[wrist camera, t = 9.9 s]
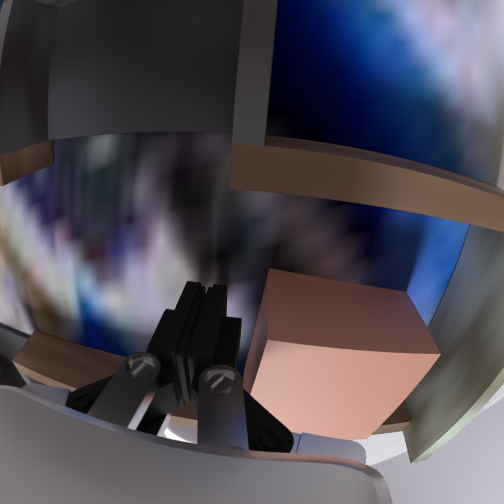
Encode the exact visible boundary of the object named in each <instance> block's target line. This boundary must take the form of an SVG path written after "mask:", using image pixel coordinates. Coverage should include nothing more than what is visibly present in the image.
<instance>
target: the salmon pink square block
mask: <svg viewBox="0 0 504 504" xmlns="http://www.w3.org/2000/svg"><path fill="white" fill-rule="evenodd" d="M440 355H441V353H440V351H439V349H438V347H437V345H436V343H435V342H434V340H433V338H432V336H431V334H430V332H429V330H428V329H427V327H426V325H425V323H424V321H423V320H422V318H421V316H420V314H419V313H418V311H417V309H416V307H415V306H414V304H413V302H412V301H411V299H410V297H409V296H408V294H407V292H405V291H399V290H392V289H386V288H380V287H374V286H368V285H363V284H357V283H351V282H345V281H339V280H333V279H328V278H322V277H316V276H310V275H305V274H299V273H293V272H288V271H282V270H277V269H271V268H269V272H268V276H267V280H266V284H265V288H264V292H263V296H262V300H261V305H260V309H259V313H258V317H257V321H256V325H255V329H254V333H253V337H252V341H251V344H250V348H249V352H248V356H247V360H246V364H245V368H244V375H243V388H244V389H245V390H246V391H247V392H248V393H249V394H250V395H251V396H252V397H253V398H254V399H255V400H257V401H258V402H259V403H260V404H261V405H262V406H263V407H264V408H265V409H267V410H268V411H269V412H270V413H271V414H272V415H273V416H274V417H276V418H277V419H278V420H279V421H280V422H281V423H283V424H284V425H285V426H286V427H287V428H288V429H289V430H290V431H291V432H294V433H299V434H301V433H302V432H305V433H310V434H315V435H320V436H326V437H332V438H338V439H345V440H354V439H367V438H368V437H369V436H370V435H371V434H372V433H373V432H374V431H375V430H376V429H377V428H378V427H379V426H380V425H381V424H382V423H383V422H384V421H385V420H386V419H387V418H388V417H389V416H390V415H391V414H392V413H393V412H394V411H395V410H396V409H397V408H398V406H399V405H400V404H401V403H402V402H403V401H404V400H405V399H406V397H407V396H408V395H409V394H410V393H411V392H412V391H413V389H414V388H415V387H416V386H417V385H418V383H419V382H420V381H421V380H422V378H423V377H424V376H425V375H426V373H427V372H428V371H429V370H430V368H431V367H432V366H433V364H434V363H435V362H436V360H437V359H438V358H439V356H440Z"/></svg>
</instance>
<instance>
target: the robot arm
mask: <svg viewBox="0 0 504 504" xmlns="http://www.w3.org/2000/svg"><path fill="white" fill-rule="evenodd" d="M226 316H227V285H219V284H214V285H213V287H208V290H207V293H206V288H205V286H201V283H200V282H192V281H187V283H186V285H185V287H184V289H183V292H182V294H181V296H180V298H179V301H178V303H177V305H176V308H175V310H171V309H166V310H165V311H164V313H163V315H162V317H161V319H160V321H159V324H158V326H157V328H156V330H155V332H154V334H153V337H152V339H151V341H150V343H149V345H148V348H147V350H146V352H137V353H134V354H131V355H130V356H128V357H127V358H126V359H125V360H124V361H123V362H122V364H121V365H120V366H119V368H118V369H117V371H116V372H115V374H114V375H111V376H109V377H106V378H104V379H101V380H99V381H96V382H94V383H91V384H88V385H86V386H83V387H81V388H78V389H76V390H74V391H70V389H67V388H60V387H53V386H47V385H41V384H36V383H29V384H27V385H25V386H24V387H22V389H21V388H18V387H13V386H5V385H0V504H392V499H391V495H390V492H389V489H388V486H387V484H386V482H385V480H384V478H383V476H382V475H381V474H380V473H379V472H378V471H377V470H375V469H374V468H372V467H370V466H368V465H366V464H365V463H366V451H365V449H364V448H363V446H362V445H360V444H359V443H358V442H355V441H352V440H345V439H338V438H332V437H326V436H320V435H315V434H310V433H305V432H302V433H301V434H299V433H294V432H291V431H290V430H289V429H288V428H287V427H286V426H285V425H284V424H283V423H281V422H280V421H279V420H278V419H277V418H276V417H274V416H273V415H272V414H271V413H270V412H269V411H268V410H267V409H265V408H264V407H263V406H262V405H261V404H260V403H259V402H258V401H257V400H255V399H254V398H253V397H252V396H251V395H250V394H249V393H248V392H247V391H246V390H245V389H244V388H243V381H242V377H241V375H240V373H239V372H238V371H237V362H238V355H239V347H240V338H241V325H242V318H235V317H226ZM191 397H192V398H193V405H194V411H195V413H196V414H197V415H198V421H197V444H195V443H189V442H184V441H179V440H174V439H169V438H165V437H162V436H163V434H164V431H165V429H166V427H167V425H168V423H169V421H170V419H171V416H172V412H173V411H175V410H177V409H179V407H184V406H185V402H186V401H190V400H191Z"/></svg>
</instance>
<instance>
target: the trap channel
mask: <svg viewBox="0 0 504 504" xmlns="http://www.w3.org/2000/svg"><path fill="white" fill-rule="evenodd" d="M277 4H278V0H4V1H3V4H2V8H1V12H0V186H4V185H6V184H8V183H10V182H12V181H15V180H17V179H19V178H21V177H23V176H26V175H28V174H30V173H33V172H35V171H37V170H40V169H42V168H45V167H47V166H50V165H52V164H54V161H53V145H52V140H56V139H63V138H72V137H81V136H91V135H102V134H117V133H136V132H212V133H232V148H231V164H230V181H229V189H240V190H252V191H263V192H273V193H282V194H291V195H300V196H308V197H316V198H324V199H332V200H339V201H346V202H353V203H360V204H366V205H373V206H379V207H385V208H391V209H397V210H402V211H408V212H413V213H419V214H424V215H429V216H434V217H439V218H444V219H449V220H454V221H458V222H463V223H467V224H471V225H470V228H469V231H468V234H467V237H466V240H465V243H464V246H463V249H462V251H461V254H460V257H459V260H458V262H457V265H456V267H455V270H454V272H453V275H452V277H451V280H450V282H449V284H448V287H447V289H446V291H445V293H444V296H443V298H442V300H441V302H440V304H439V306H438V308H437V311H436V313H435V315H434V317H433V319H432V321H431V323H430V325H429V327H428V328H427V329H428V330H429V332H430V334H431V336H432V338H433V340H434V342H435V343H436V345H437V347H438V349H439V351H440V353H441V355H440V356H439V358H438V359H437V360H436V362H435V363H434V364H433V366H432V367H431V368H430V370H429V371H428V372H427V373H426V375H425V376H424V377H423V378H422V380H421V381H420V382H419V383H418V385H417V386H416V387H415V388H414V389H413V391H412V392H411V393H410V394H409V395H408V396H407V397H406V399H405V400H404V401H403V402H402V403H401V404H400V405H399V406H398V408H397V409H396V410H395V411H394V412H393V413H392V414H391V415H390V416H389V417H388V418H387V419H386V420H385V421H384V422H383V423H382V424H381V425H380V426H379V427H378V428H377V429H376V430H375V431H374V432H373V433H372V434H371V435H375V434H384V433H391V432H398V431H403V434H404V438H405V442H406V446H407V450H408V454H409V459H410V463H414V462H418V461H422V460H426V459H427V458H429V457H430V456H431V455H432V454H434V453H435V452H436V451H437V450H439V449H440V448H441V447H442V446H443V445H444V444H446V443H447V442H448V441H449V440H450V439H451V438H452V437H453V436H454V435H456V434H457V433H458V432H459V431H460V430H461V429H462V428H463V427H464V426H465V425H466V424H467V423H468V422H469V421H470V420H471V419H472V418H473V417H474V416H475V415H476V414H477V413H478V412H479V411H480V410H481V409H482V408H483V407H484V405H485V404H486V403H487V402H488V401H489V400H490V399H491V398H492V396H493V395H494V394H495V393H496V392H497V391H498V389H499V388H500V387H501V386H502V385H503V383H504V191H503V190H501V189H500V188H498V187H495V186H493V185H490V184H487V183H484V182H482V181H479V180H476V179H473V178H470V177H467V176H464V175H461V174H458V173H455V172H451V171H448V170H445V169H441V168H438V167H435V166H431V165H427V164H424V163H420V162H416V161H412V160H408V159H404V158H400V157H396V156H392V155H387V154H383V153H378V152H373V151H368V150H363V149H358V148H353V147H348V146H342V145H336V144H330V143H323V142H317V141H310V140H302V139H294V138H286V137H277V136H267V135H266V129H267V118H268V107H269V95H270V84H271V73H272V62H273V50H274V39H275V27H276V16H277ZM126 358H127V357H124V356H120V355H116V354H112V353H108V352H104V351H100V350H97V349H93V348H90V347H86V346H83V345H79V344H76V343H73V342H69V341H66V340H63V339H60V338H57V337H54V336H51V335H48V334H45V333H42V332H39V331H37V330H35V331H34V332H33V334H32V335H31V336H30V337H28V336H26V335H23V334H21V333H18V332H16V331H14V330H11V329H9V328H7V327H4V326H2V325H0V385H5V386H13V387H18V388H21V389H22V387H24V386H25V385H27V384H29V383H36V384H41V385H47V386H53V387H60V388H67V389H70V391H74V390H76V389H78V388H81V387H83V386H86V385H88V384H91V383H94V382H96V381H99V380H101V379H104V378H106V377H109V376H111V375H114V374H115V372H116V371H117V369H118V368H119V366H120V365H121V364H122V362H123V361H124V360H125V359H126ZM241 377H242V381H243V376H241ZM197 421H198V415H197V414H196V413H195V411H194V405H193V398H192V397H191V400H190V401H186V402H185V406H184V407H179V409H177V410H175V411H173V412H172V416H171V419H170V421H169V423H168V424H170V425H175V426H180V427H186V428H191V429H197Z"/></svg>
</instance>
